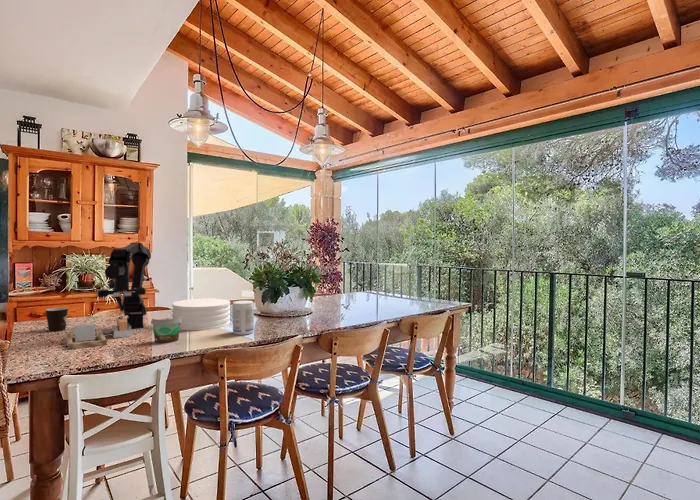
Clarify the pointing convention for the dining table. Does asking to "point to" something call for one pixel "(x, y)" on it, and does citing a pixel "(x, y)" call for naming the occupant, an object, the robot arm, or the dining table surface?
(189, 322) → the plate stack
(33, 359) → the dining table surface
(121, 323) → the crank handle
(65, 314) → the coffee mug
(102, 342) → the bay
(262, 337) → the dining table surface
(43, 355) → the dining table surface
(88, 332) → the tilted light grey box
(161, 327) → the food container
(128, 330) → the block
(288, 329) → the dining table surface
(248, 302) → the supplement tub
